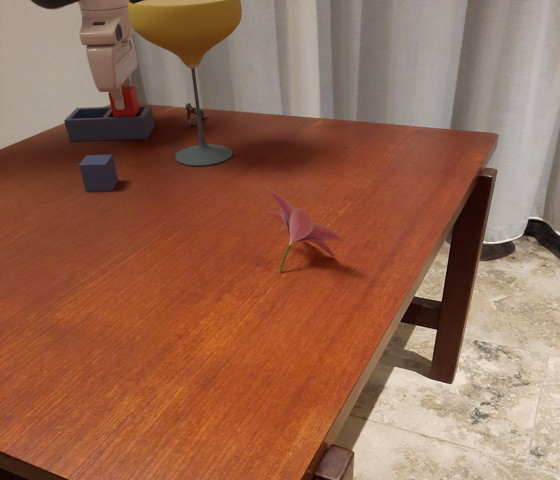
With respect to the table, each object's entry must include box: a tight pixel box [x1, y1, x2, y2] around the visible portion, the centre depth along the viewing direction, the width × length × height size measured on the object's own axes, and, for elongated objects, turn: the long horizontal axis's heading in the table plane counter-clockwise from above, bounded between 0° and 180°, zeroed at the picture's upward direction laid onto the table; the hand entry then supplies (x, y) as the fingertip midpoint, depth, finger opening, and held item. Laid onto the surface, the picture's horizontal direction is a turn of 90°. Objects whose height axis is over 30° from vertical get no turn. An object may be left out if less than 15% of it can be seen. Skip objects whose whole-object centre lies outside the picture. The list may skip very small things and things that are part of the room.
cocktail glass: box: [128, 0, 243, 167], centre depth 96 cm, size 18×18×25 cm
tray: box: [63, 104, 155, 142], centre depth 115 cm, size 8×16×4 cm, turn 89°
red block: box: [107, 85, 140, 117], centre depth 112 cm, size 4×4×4 cm
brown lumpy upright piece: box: [185, 102, 205, 128], centre depth 118 cm, size 2×8×4 cm, turn 167°
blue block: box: [78, 154, 119, 193], centre depth 94 cm, size 4×4×4 cm
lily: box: [264, 186, 348, 273], centre depth 71 cm, size 12×12×10 cm
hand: (124, 104), depth 113 cm, fingers closed on red block, 4 cm apart
